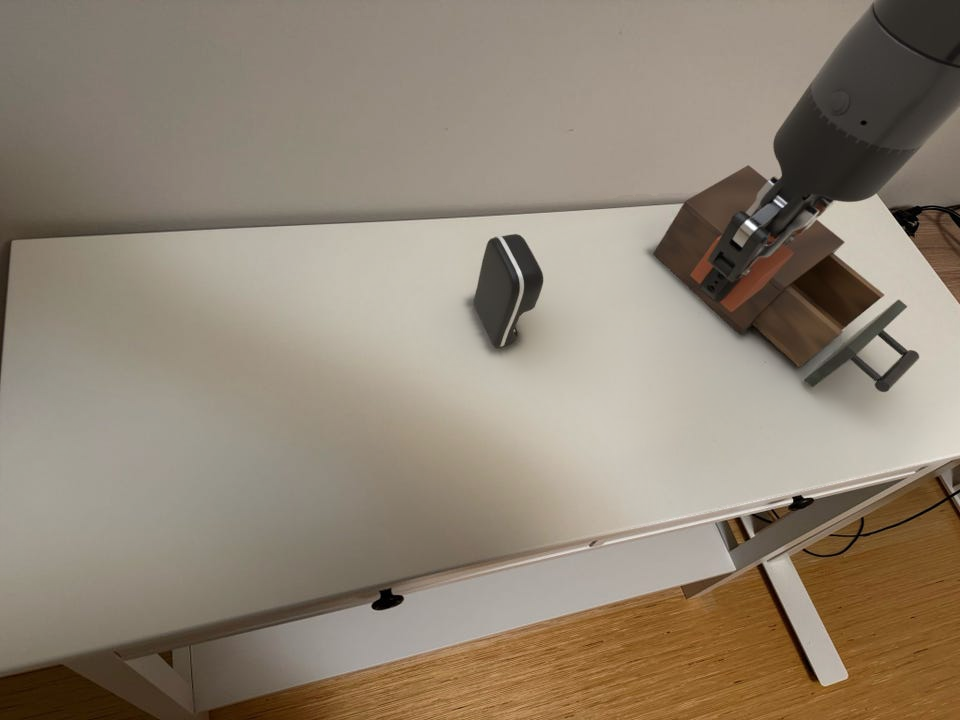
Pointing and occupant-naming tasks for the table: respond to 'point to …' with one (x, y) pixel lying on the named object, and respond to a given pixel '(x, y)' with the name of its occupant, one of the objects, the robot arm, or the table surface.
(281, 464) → the table surface
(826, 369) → the drawer
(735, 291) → the block
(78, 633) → the table surface
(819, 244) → the cabinet
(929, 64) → the robot arm
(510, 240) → the battery charger
